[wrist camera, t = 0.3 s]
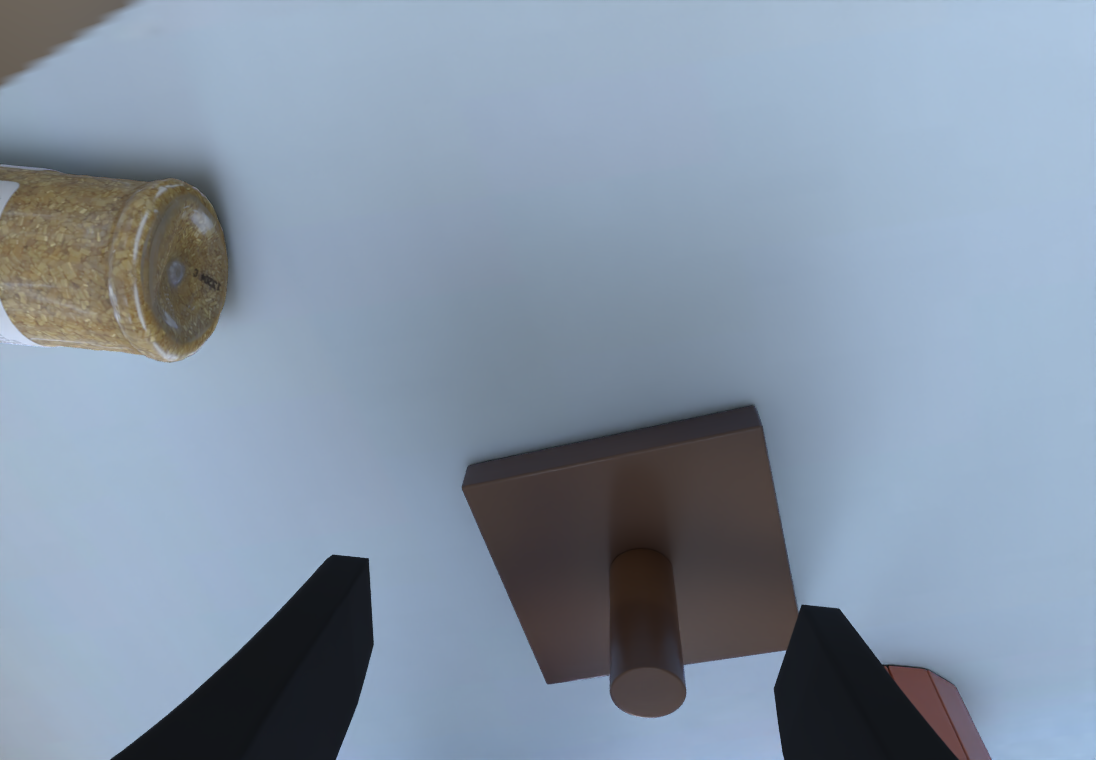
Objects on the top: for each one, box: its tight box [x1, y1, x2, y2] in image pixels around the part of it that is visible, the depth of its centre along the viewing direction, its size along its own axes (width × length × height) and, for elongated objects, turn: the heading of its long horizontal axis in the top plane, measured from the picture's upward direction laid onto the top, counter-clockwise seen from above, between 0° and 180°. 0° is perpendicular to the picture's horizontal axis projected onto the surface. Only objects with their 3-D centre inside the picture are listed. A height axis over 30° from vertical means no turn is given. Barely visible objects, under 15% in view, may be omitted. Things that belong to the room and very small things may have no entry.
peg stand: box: [462, 406, 799, 718], centre depth 22 cm, size 9×9×6 cm
